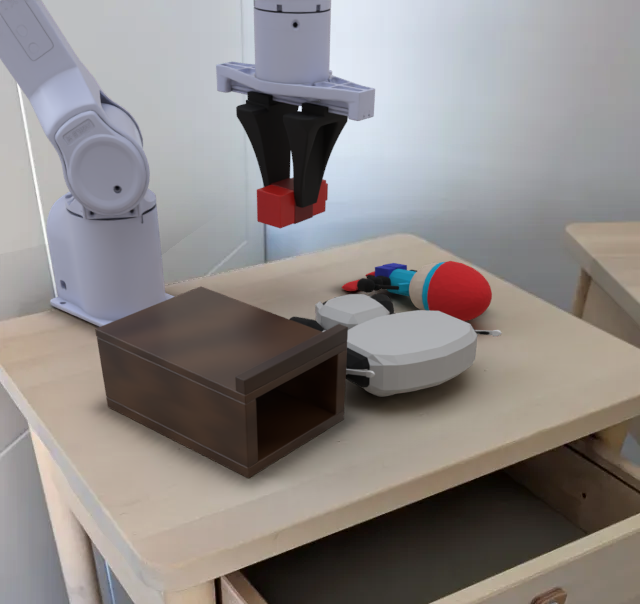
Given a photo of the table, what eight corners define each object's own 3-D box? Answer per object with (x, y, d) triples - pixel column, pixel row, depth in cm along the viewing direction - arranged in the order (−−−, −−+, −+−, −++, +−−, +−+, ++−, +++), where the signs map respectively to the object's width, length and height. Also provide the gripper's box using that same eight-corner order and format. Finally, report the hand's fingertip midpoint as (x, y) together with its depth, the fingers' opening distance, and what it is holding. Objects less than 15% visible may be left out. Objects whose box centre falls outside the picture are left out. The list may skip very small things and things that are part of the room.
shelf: (107, 406, 62) (92, 314, 57) (206, 359, 68) (199, 272, 63) (248, 478, 55) (244, 380, 50) (344, 419, 61) (348, 326, 56)
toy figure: (335, 308, 79) (456, 337, 69) (334, 253, 77) (459, 274, 67) (394, 295, 83) (516, 320, 73) (394, 242, 81) (521, 260, 71)
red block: (256, 222, 71) (255, 188, 70) (309, 203, 76) (309, 170, 74) (280, 229, 70) (280, 195, 68) (333, 209, 74) (334, 176, 73)
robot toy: (262, 360, 69) (376, 428, 59) (258, 305, 67) (377, 367, 57) (380, 326, 75) (502, 382, 65) (381, 274, 72) (509, 324, 62)
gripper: (404, 13, 62) (389, 207, 71) (255, -7, 69) (259, 172, 77) (344, 23, 58) (337, 229, 66) (193, 1, 64) (204, 190, 73)
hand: (292, 200), depth 72 cm, fingers closed on red block, 3 cm apart
